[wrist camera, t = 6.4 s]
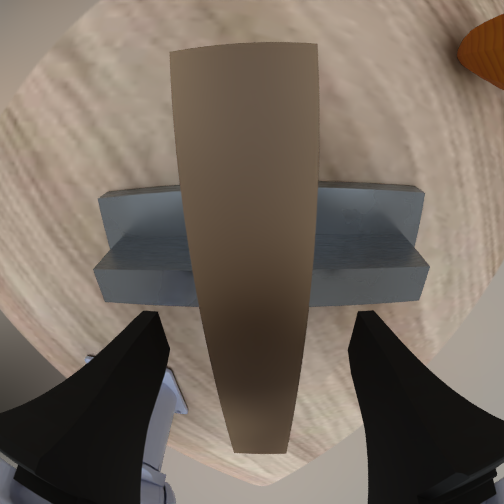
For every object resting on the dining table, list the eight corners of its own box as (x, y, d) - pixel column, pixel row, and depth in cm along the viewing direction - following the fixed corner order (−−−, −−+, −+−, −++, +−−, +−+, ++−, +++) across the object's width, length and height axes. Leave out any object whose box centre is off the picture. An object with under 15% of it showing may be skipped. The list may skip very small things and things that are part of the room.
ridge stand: (132, 288, 18) (105, 333, 14) (107, 192, 15) (63, 223, 11) (394, 286, 17) (419, 333, 13) (415, 186, 14) (458, 217, 10)
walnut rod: (238, 399, 17) (234, 452, 13) (207, 71, 8) (169, 51, 5) (284, 399, 17) (286, 453, 13) (296, 68, 8) (317, 43, 4)
